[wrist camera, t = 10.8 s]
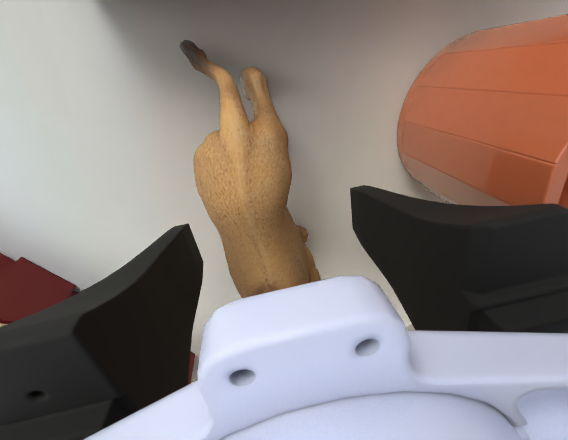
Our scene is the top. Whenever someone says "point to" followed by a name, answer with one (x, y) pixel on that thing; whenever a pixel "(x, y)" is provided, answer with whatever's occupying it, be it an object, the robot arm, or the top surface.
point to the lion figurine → (250, 186)
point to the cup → (492, 117)
